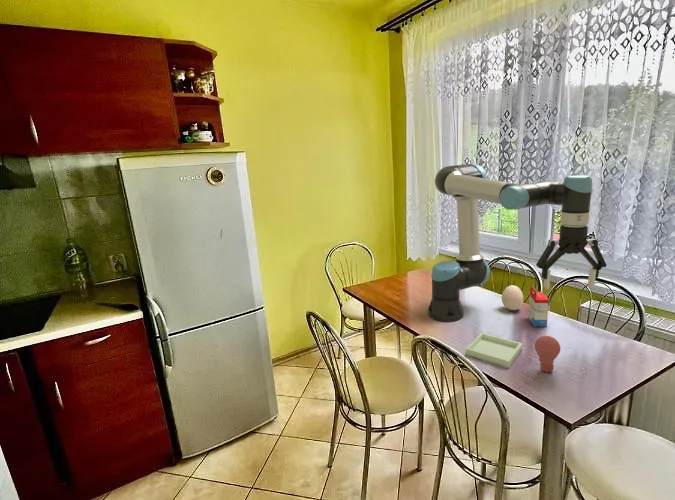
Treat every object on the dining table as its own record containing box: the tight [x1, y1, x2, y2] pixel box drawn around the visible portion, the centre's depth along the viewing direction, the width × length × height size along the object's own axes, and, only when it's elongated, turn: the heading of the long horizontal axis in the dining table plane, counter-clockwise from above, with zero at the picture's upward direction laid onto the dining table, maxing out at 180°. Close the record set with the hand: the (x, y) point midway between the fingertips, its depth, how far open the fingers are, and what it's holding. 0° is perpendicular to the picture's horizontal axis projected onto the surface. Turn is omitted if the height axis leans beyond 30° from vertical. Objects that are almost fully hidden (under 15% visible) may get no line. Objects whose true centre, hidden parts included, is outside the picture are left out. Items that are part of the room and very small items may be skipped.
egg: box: [501, 284, 524, 311], centre depth 163 cm, size 9×9×11 cm
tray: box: [465, 332, 523, 369], centre depth 132 cm, size 15×15×2 cm
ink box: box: [527, 285, 549, 327], centre depth 150 cm, size 8×5×15 cm, turn 168°
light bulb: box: [534, 335, 561, 373], centre depth 118 cm, size 7×7×12 cm
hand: (568, 287), depth 123 cm, fingers open, 13 cm apart
